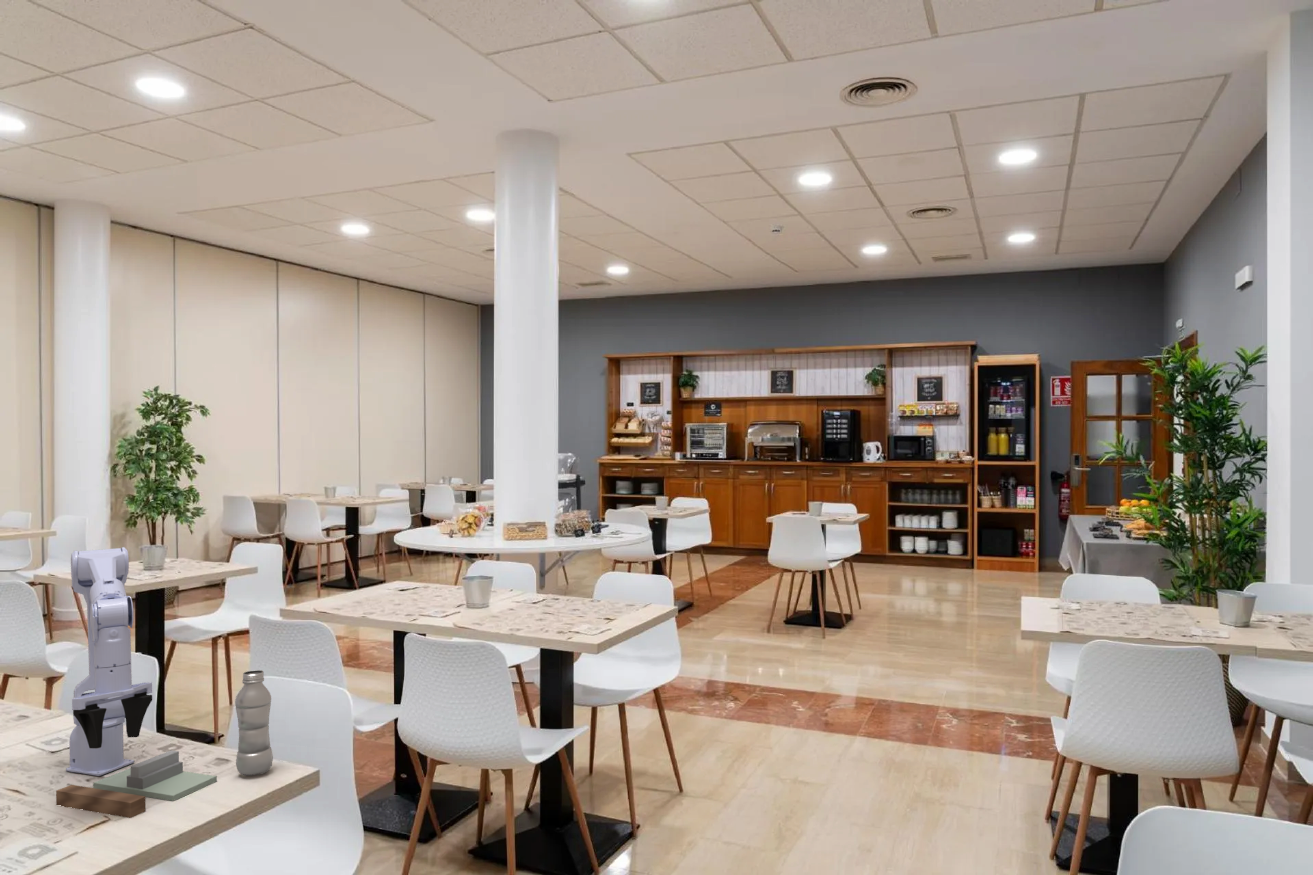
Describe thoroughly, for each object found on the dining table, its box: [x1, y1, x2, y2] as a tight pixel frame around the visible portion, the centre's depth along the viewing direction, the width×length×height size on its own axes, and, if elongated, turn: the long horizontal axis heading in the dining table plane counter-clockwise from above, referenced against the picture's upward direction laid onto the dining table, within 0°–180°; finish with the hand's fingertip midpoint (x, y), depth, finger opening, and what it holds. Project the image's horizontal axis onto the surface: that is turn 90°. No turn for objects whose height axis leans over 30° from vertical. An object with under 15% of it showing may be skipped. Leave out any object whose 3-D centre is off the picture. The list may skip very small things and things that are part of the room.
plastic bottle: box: [234, 669, 274, 777], centre depth 178 cm, size 6×7×20 cm
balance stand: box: [92, 750, 218, 802], centre depth 173 cm, size 20×10×5 cm, turn 70°
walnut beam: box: [55, 784, 147, 819], centre depth 162 cm, size 18×3×3 cm, turn 71°
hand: (114, 742), depth 162 cm, fingers open, 7 cm apart
